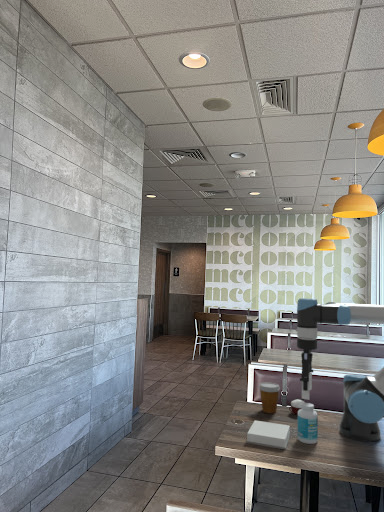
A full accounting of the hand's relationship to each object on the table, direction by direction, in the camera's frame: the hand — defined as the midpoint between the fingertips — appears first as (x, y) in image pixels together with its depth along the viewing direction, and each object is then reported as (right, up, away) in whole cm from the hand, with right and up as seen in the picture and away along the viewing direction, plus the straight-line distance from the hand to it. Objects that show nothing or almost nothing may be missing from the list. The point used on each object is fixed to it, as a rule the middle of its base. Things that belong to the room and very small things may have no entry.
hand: (306, 393), depth 145 cm
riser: (-15, -17, 0) cm, 23 cm away
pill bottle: (0, -18, -1) cm, 18 cm away
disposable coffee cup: (-8, -20, +31) cm, 37 cm away
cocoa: (+5, -20, +28) cm, 35 cm away
